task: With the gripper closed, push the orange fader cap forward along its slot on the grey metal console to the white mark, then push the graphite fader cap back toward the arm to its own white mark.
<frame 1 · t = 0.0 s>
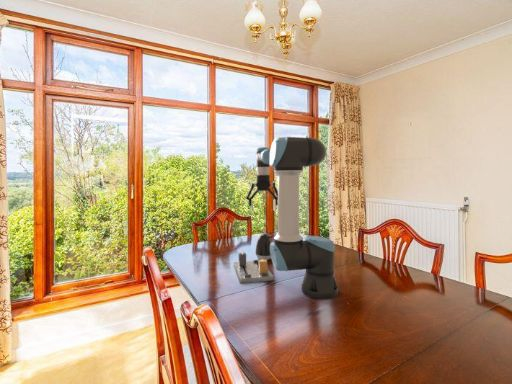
hand: (263, 211, 164), 28 cm above the table, fingers open, 13 cm apart
fader graphite: (242, 258, 149), point 5 cm above the table, slide at 16.0 cm
console: (252, 272, 143), on the table
fader orange: (262, 266, 137), point 5 cm above the table, slide at 2.0 cm
pump dispenser: (264, 259, 165), on the table
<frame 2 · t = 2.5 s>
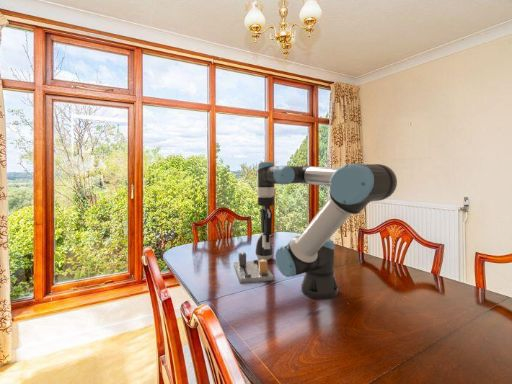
hand: (266, 247, 128), 17 cm above the table, fingers open, 3 cm apart
nothing on the table moved.
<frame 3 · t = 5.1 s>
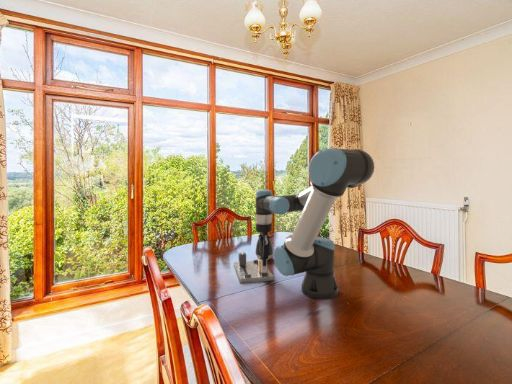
hand: (263, 271, 134), 4 cm above the table, fingers closed
fader orange: (262, 265, 138), point 5 cm above the table, slide at 3.2 cm, touching gripper
everything else where it was.
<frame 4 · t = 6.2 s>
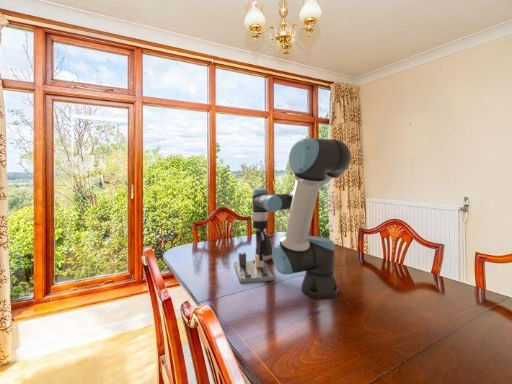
hand: (260, 266, 142), 4 cm above the table, fingers closed
fader orange: (259, 260, 146), point 5 cm above the table, slide at 11.1 cm, touching gripper
everything else where it was.
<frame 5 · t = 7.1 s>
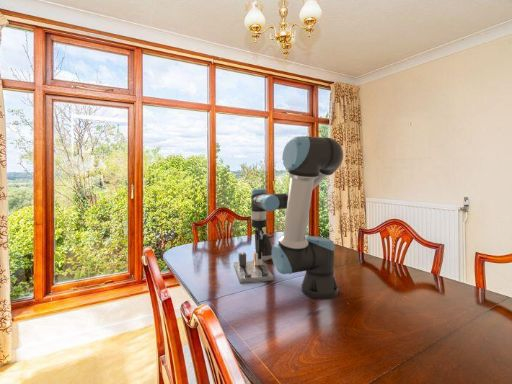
hand: (259, 264, 145), 3 cm above the table, fingers closed
fader orange: (257, 258, 149), point 5 cm above the table, slide at 14.5 cm, touching gripper
everything else where it was.
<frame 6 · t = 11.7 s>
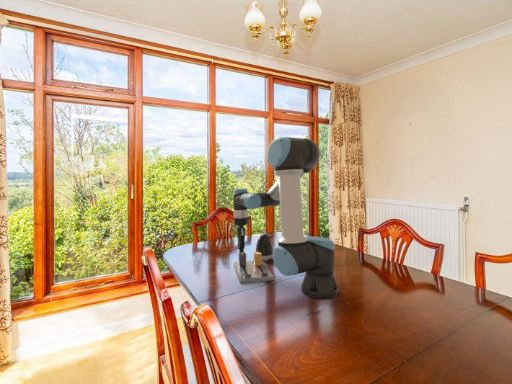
hand: (241, 260, 153), 3 cm above the table, fingers closed
fader orange: (257, 258, 149), point 5 cm above the table, slide at 14.5 cm
everything else where it was.
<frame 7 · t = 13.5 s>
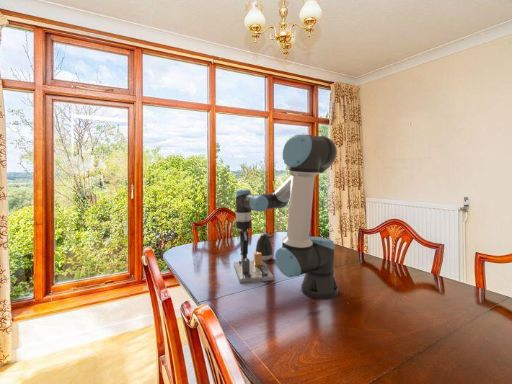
hand: (244, 266, 143), 3 cm above the table, fingers closed
fader graphite: (245, 265, 139), point 5 cm above the table, slide at 5.5 cm, touching gripper
everything else where it was.
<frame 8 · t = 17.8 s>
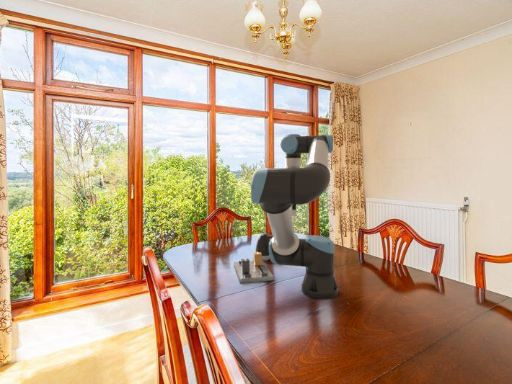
hand: (293, 216, 137), 29 cm above the table, fingers closed
fader graphite: (245, 265, 139), point 5 cm above the table, slide at 5.5 cm
everything else where it was.
at the end: fader orange slide at 14.5 cm; fader graphite slide at 5.5 cm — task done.
